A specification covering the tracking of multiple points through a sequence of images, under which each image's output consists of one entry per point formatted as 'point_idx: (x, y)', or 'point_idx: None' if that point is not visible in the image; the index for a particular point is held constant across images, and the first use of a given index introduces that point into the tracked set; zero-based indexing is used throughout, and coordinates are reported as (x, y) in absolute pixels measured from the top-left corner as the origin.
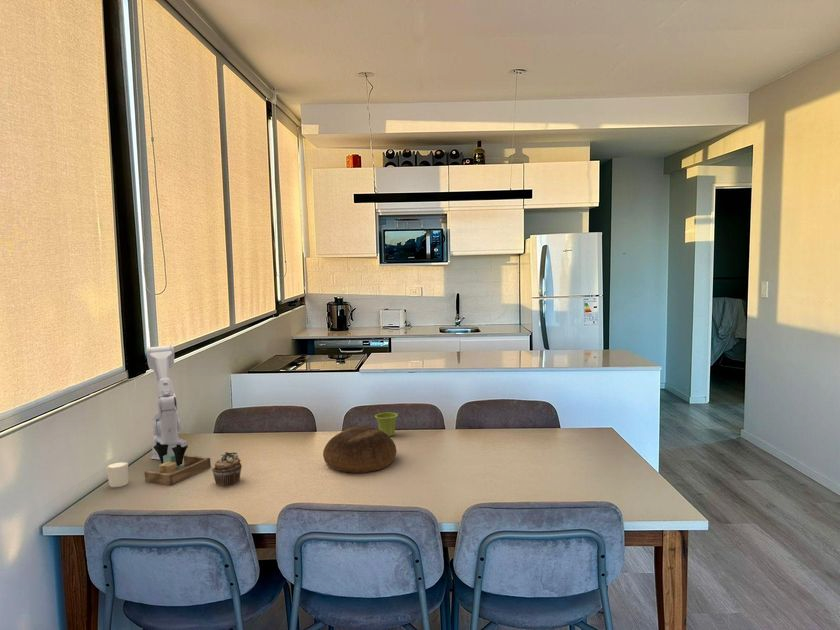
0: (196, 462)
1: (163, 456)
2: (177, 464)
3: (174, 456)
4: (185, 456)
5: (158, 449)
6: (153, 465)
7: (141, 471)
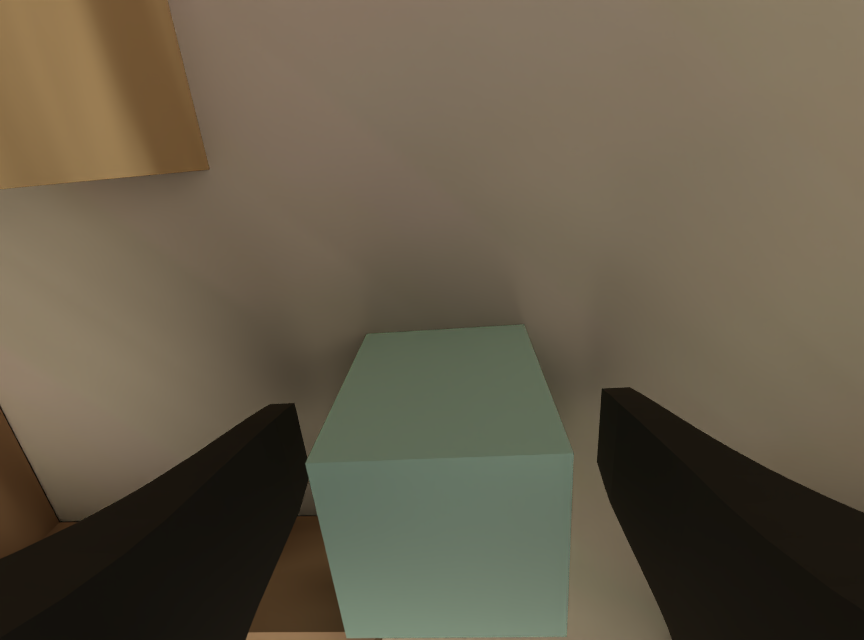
0: None
1: (554, 448)
2: (261, 409)
3: (330, 529)
4: (338, 623)
5: (839, 599)
6: (816, 372)
7: (834, 89)
